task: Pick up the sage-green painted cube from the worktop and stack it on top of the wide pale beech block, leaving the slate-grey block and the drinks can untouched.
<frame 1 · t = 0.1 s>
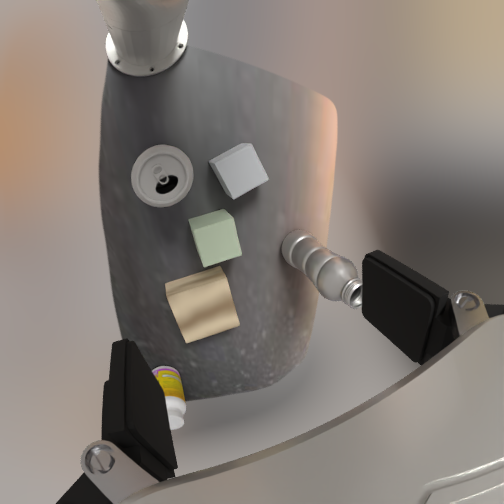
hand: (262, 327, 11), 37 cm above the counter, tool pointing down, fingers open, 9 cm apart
sage-green block: (210, 230, 47), on the counter
plastic bottle: (293, 243, 53), on the counter
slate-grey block: (233, 168, 45), on the counter
supplement bottle: (164, 375, 55), on the counter
beech block: (200, 297, 51), on the counter
can: (160, 168, 41), on the counter
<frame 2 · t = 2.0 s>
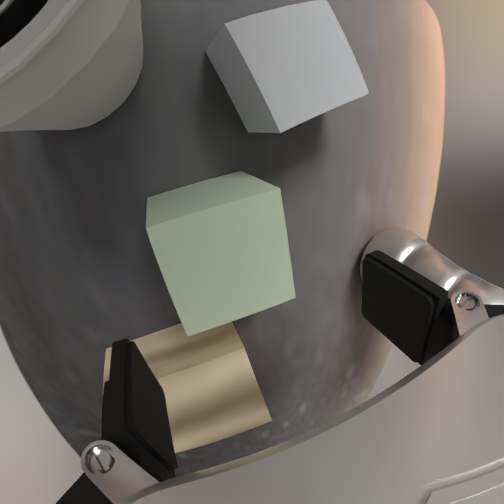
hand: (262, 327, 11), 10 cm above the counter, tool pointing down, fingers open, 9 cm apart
sage-green block: (205, 227, 19), on the counter
plastic bottle: (376, 255, 25), on the counter
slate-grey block: (267, 73, 16), on the counter
beech block: (186, 368, 23), on the counter
can: (83, 70, 12), on the counter
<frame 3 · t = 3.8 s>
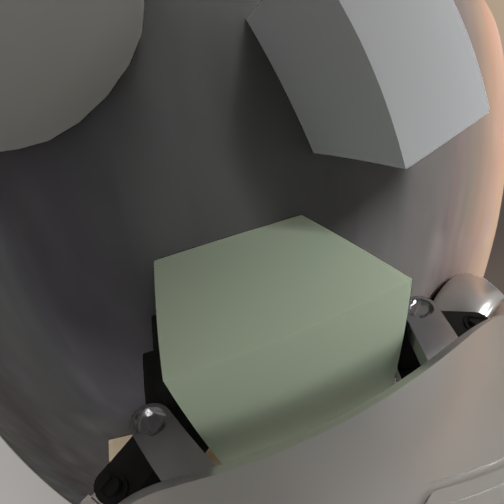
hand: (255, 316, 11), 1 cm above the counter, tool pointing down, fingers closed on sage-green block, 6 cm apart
sage-green block: (246, 301, 12), on the counter, touching gripper
plastic bottle: (438, 303, 18), on the counter
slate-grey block: (338, 62, 10), on the counter
beech block: (211, 450, 16), on the counter
can: (46, 49, 6), on the counter
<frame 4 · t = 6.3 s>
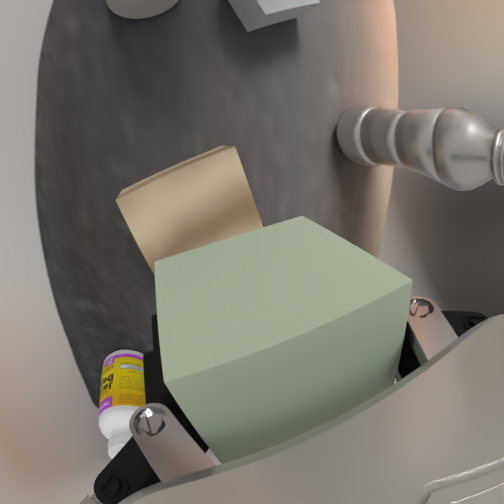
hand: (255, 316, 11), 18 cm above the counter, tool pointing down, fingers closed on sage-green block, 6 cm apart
sage-green block: (246, 302, 12), point 17 cm above the counter, touching gripper
plastic bottle: (351, 133, 29), on the counter
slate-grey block: (259, 2, 21), on the counter
supplement bottle: (128, 366, 31), on the counter
beech block: (191, 213, 27), on the counter
when the fingers open (7 cm above the counter, at t = 9.1 s): sage-green block stays where it is, resting on beech block.
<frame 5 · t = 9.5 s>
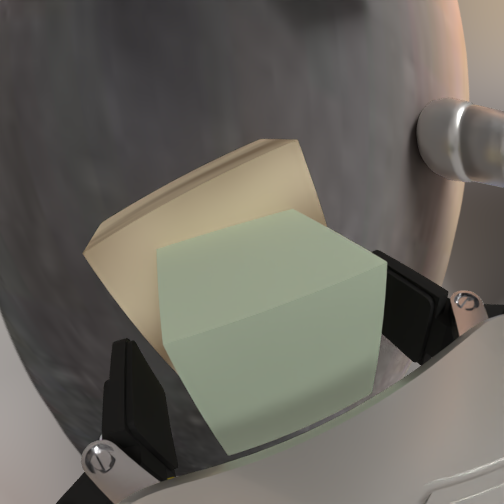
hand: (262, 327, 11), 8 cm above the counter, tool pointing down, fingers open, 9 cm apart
sage-green block: (241, 288, 13), point 5 cm above the counter, touching beech block
plastic bottle: (427, 135, 19), on the counter
beech block: (216, 250, 18), on the counter, touching sage-green block
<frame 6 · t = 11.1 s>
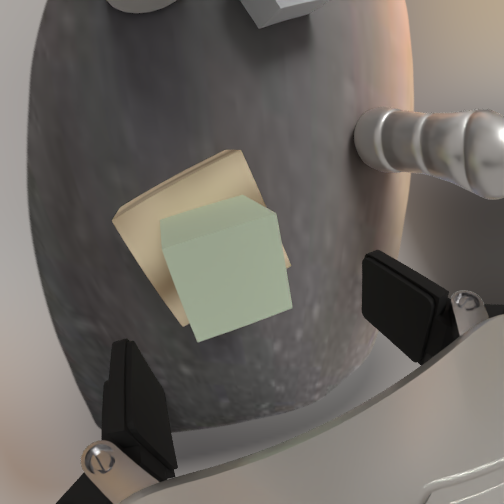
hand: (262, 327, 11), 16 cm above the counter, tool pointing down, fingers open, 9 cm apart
sage-green block: (212, 246, 21), point 5 cm above the counter
plastic bottle: (368, 138, 27), on the counter
beech block: (198, 227, 25), on the counter
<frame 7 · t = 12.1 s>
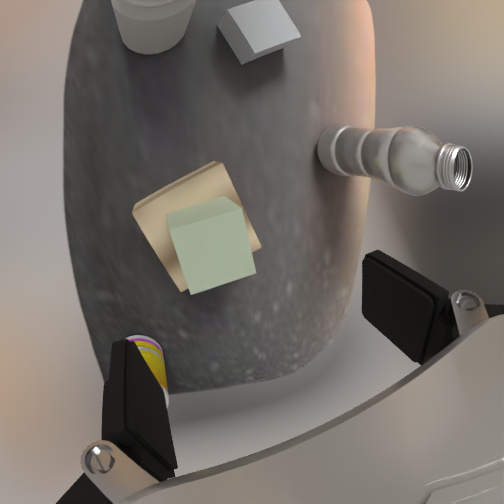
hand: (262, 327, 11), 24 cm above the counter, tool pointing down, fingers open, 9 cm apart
sage-green block: (203, 232, 29), point 5 cm above the counter, touching beech block
plastic bottle: (330, 148, 35), on the counter
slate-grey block: (250, 36, 27), on the counter
supplement bottle: (139, 350, 37), on the counter
beech block: (193, 218, 33), on the counter, touching sage-green block
can: (153, 29, 24), on the counter
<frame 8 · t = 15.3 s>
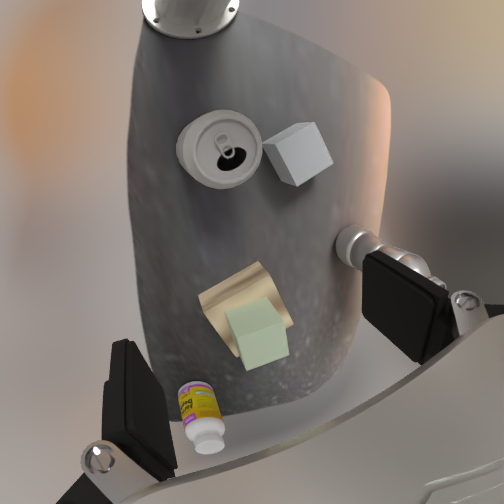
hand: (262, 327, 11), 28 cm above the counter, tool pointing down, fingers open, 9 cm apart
sage-green block: (249, 321, 40), point 5 cm above the counter, touching beech block
plastic bottle: (345, 240, 46), on the counter
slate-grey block: (288, 151, 38), on the counter
supplement bottle: (194, 390, 48), on the counter
beech block: (241, 301, 44), on the counter, touching sage-green block
can: (205, 147, 34), on the counter
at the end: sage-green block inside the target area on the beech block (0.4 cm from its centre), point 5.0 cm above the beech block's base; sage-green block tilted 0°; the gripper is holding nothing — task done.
